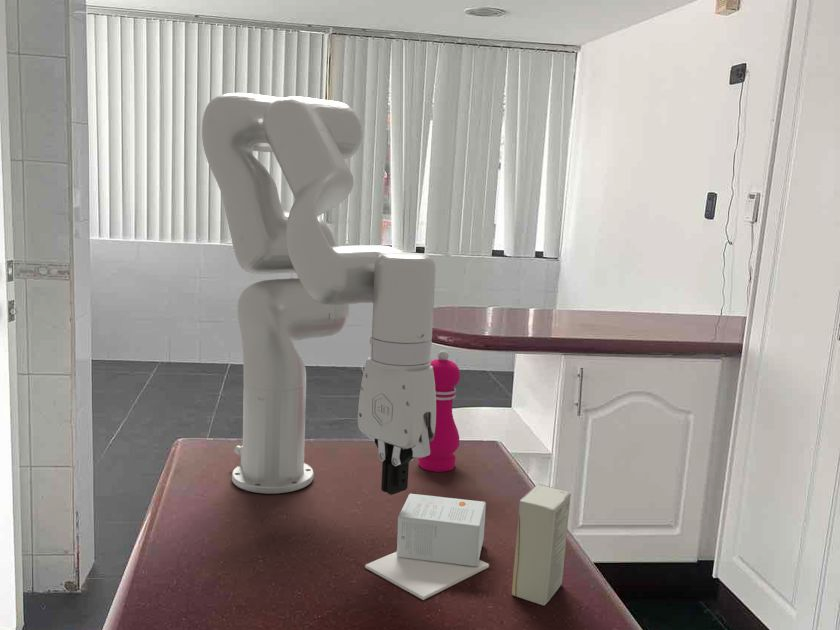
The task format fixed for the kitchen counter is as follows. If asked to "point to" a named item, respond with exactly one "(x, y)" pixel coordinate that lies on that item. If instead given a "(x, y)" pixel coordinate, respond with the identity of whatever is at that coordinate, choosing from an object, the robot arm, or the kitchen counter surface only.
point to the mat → (422, 573)
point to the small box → (441, 529)
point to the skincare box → (540, 543)
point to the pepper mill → (443, 417)
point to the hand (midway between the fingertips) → (394, 490)
